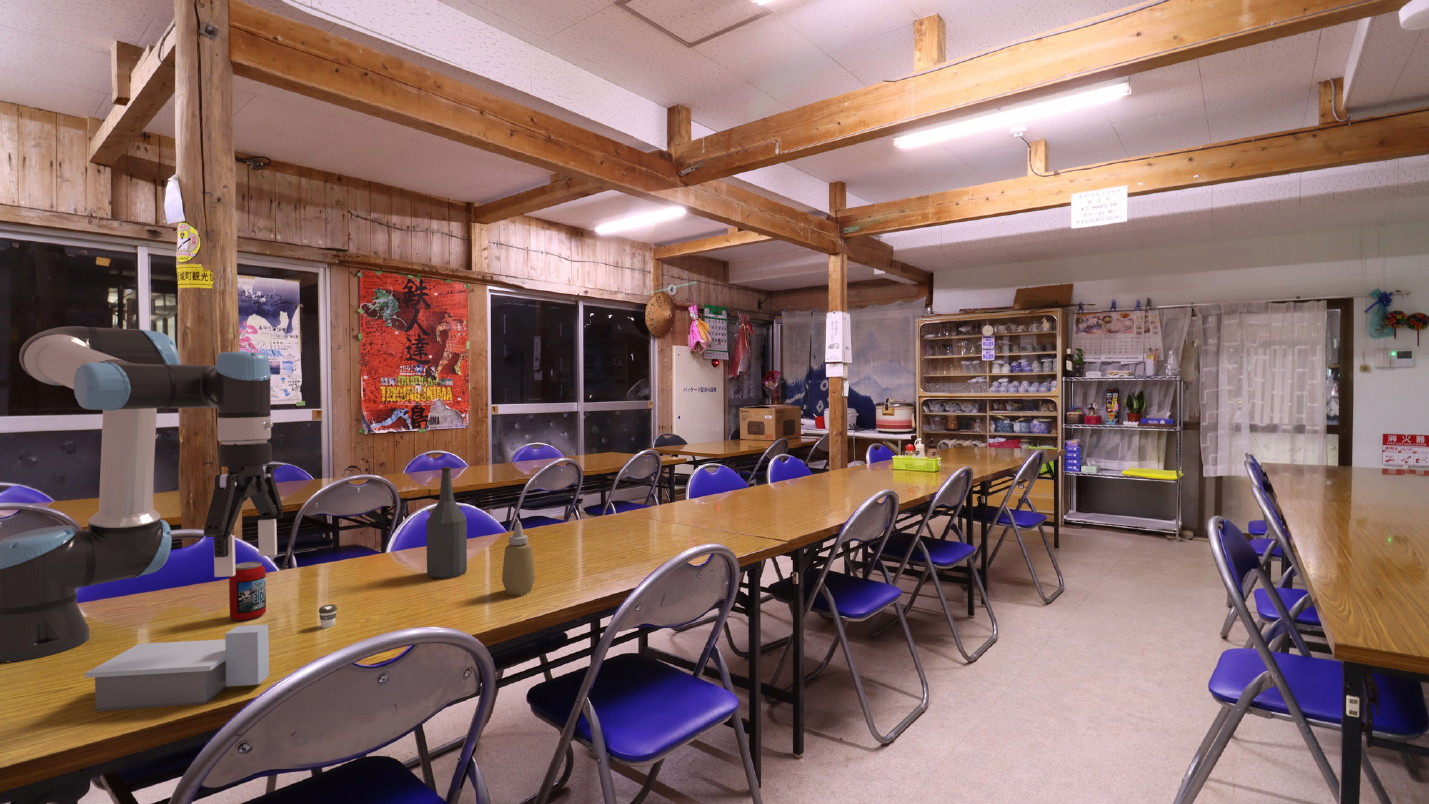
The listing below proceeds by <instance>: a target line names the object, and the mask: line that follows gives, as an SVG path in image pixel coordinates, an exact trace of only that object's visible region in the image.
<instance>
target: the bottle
mask: <svg viewBox="0 0 1429 804" xmlns="http://www.w3.org/2000/svg"><path fill="white" fill-rule="evenodd" d="M451 470H452V467H450V466H442V467H441V479H440V481H441V482H440V491H439V499H438V502H437V504H436V505H435V507H434V509H433V510H432V512H431V513H430V515H428V519H427V520H426V574H427V576H428V577H429V576H430V577H429V578H431V579H433V578H441V579H440V580H443V579H442V578H447V579H450V578H449V577H455V578H457V577H456V576H459V577H461V576H463V575H466V572H467V570H468V551H467V549H468V541H467V540H468V538H467V537H468V535H467V534H468V533H467V532H468V530H467V528H468V527H467V517H466V515H465V514H464V513H463V511H462V509H461V508H460V507H459V505H458V503H456V501H455V498H454V491H453V489H454V488H453V480H452V472H451ZM462 574H463V575H462ZM460 575H461V576H460Z"/></svg>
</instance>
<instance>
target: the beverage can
mask: <svg viewBox="0 0 1429 804" xmlns="http://www.w3.org/2000/svg"><path fill="white" fill-rule="evenodd" d="M235 573H236V575H234V576H228V589H229V591H228V592H229V601H228V603H229V617H230V619H232V620H235V621H238V622H239V621H240V622H241V621H251V620H254V619H258V618H260V617H261V616H263V615H264V614H265V613H266V612H267V585H266V583H267V576H266V575H267V574H266V573H267V572H266V568H265V566H263V563H262V561H246V562H241V563H235Z"/></svg>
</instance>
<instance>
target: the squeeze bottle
mask: <svg viewBox="0 0 1429 804" xmlns="http://www.w3.org/2000/svg"><path fill="white" fill-rule="evenodd" d="M522 526H523V525H522V523H521V521H516V522H515V524H514V530H513V533H512V535H510V536H508V545H506V546H505V548H504V556H503V565H502V573H501V575H502V577H501V581H502V584H503V587H504V590H505V593H506V595H508V594H509V595H508V596H511V595H519V596H522V595H521V594H525V595H528V594H529V592H530V591H531V592H532V588H533V585H534V582H535V579H536V574H535V563H534V556H533V554H534V553H533V547H532V545H531V543H529V536H528V535H526V534H524V530H523V527H522ZM531 592H530V593H531ZM527 593H528V594H527Z"/></svg>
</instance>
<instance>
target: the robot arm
mask: <svg viewBox="0 0 1429 804" xmlns="http://www.w3.org/2000/svg"><path fill="white" fill-rule="evenodd" d="M18 356H19V363H20V365H21V368H22V370H24V371H25V372H26V374H27V375H29V376H30V377H32V378H33V379H35V380H37V381H39V382H41V383H44V384H47V385H51V386H65V387H67V388H69V389H72V390H73V392H74V393H73V394H74V396H75V400H76V401H77V403H78V405H79V407H81V408H83V409H85V410H93V411H94V410H96V411H97V410H100V411H101V410H102V424H101V425H102V428H101V451H100V454H101V455H100V470H99V471H100V473H99V474H100V476H99V477H100V478H99V495H98V497H99V499H98V511H97V512H96V513H94V514H93V515H92V516H90V517H89V518H88V527H87V529H84V530H77V529H76V527H75V526H74V525H70V524H68V525H65V524H64V525H62V524H61V525H55V526H48V527H42V528H36V529H31V530H27V531H24V532H20V533H16V534H13V535H9V536H7V537H5V538H3V539H1V540H0V662H7V661H16V662H21V660H23V661H29V660H34V659H39V658H43V657H47V656H52V655H55V654H58V653H59V654H60V653H62V651H63V652H65V651H68V649H69V650H72V649H74V648H77V647H78V646H80V645H82V644H84V643H86V642H87V641H89V639H90V627H89V625H88V623H87V621H86V619H85V618H84V615H83V613H82V610H81V608H80V607H79V605H78V601H77V599H78V597H77V590H78V589H80V588H85V587H90V586H94V585H100V584H105V583H110V582H115V581H120V580H126V579H127V580H128V579H137V578H139V577H141V576H144V575H151V574H153V573H156V572H158V571H159V570H160V569H162V567H164V565H165V564H166V562H167V561H168V559H169V556H170V553H171V549H172V539H173V538H172V535H171V532H172V531H171V527H170V524H169V523H168V522H167V521H166V520H164V519H161V514H160V513H159V512H158V511H156V510H155V509H153V494H154V492H153V491H154V474H155V473H154V472H155V455H156V454H155V452H156V451H155V450H156V432H157V413H158V412H157V410H158V409H195V408H197V409H200V408H204V409H206V408H207V409H209V408H212V409H215V408H216V410H217V412H216V414H217V415H216V416H217V441H219V442H221V444H219V445H218V446H217V457H218V458H217V462H218V465H219V466H220V467H225V468H227V474H216V475H215V476H214V486H213V488H214V489H213V492H212V493H213V494H212V497H211V502H210V504H209V509H208V513H207V515H206V516H207V517H206V520H205V524H204V529H203V535H204V536H205V537H206V538H213V563H214V564H213V566H214V567H213V568H214V569H213V572H214V578H223V577H229V576H234V575H236V573H235V565H236V535H235V534H234V535H233V534H232V532H233V529H234V527H235V524H236V523H237V522H236V521H237V519H238V517H239V514H240V512H241V509H242V506H243V503H245V502H247V500H249V498H250V500H251V502H252V505H254V508H255V509H256V511H257V513H258V515H259V517H260V518H261V519H259V520H257V527H258V528H257V533H258V534H257V535H258V537H257V538H258V540H257V541H258V557H271V556H272V557H273V556H274V557H275V556H277V555H278V536H277V519H282V518H283V515H284V513H283V512H284V507H283V503H282V500H281V497H280V494H279V491H278V489H279V488H278V487H277V484H276V480H275V474H274V466H273V465H269V464H271V462H272V460H273V457H272V456H273V455H272V454H273V452H272V450H273V449H272V446H273V445H272V443H271V442H270V441H269V442H268V440H270V439H271V438H272V428H273V427H274V423H273V422H271V421H272V418H271V415H272V414H271V411H272V409H271V406H272V405H271V403H272V401H271V400H272V399H271V397H272V396H271V377H272V372H271V369H270V358H269V356H268V355H266V354H265V353H262V352H257V351H256V352H254V351H253V352H252V351H222V352H219V353H218V354H217V355H216V361H215V362H216V363H215V365H214V364H211V365H210V364H181V361H180V355H179V352H178V349H177V347H176V345H175V343H174V341H173V340H172V338H171V337H170V336H169V335H168V334H166V333H163V332H161V331H155V330H146V329H142V328H116V327H115V328H113V327H93V326H92V327H91V326H82V325H81V326H78V325H75V326H74V325H73V326H71V325H70V326H69V325H67V326H60V327H54V328H50V329H46V330H44V331H41V332H38V333H36V334H35V335H32V336H31V337H30V338H28V339H27V340H26V341H25V342H24V343H23V345H22V346H21V348H20V351H19V355H18ZM76 646H77V647H76ZM73 647H74V648H73ZM28 659H29V660H28ZM7 663H8V662H7Z"/></svg>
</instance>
